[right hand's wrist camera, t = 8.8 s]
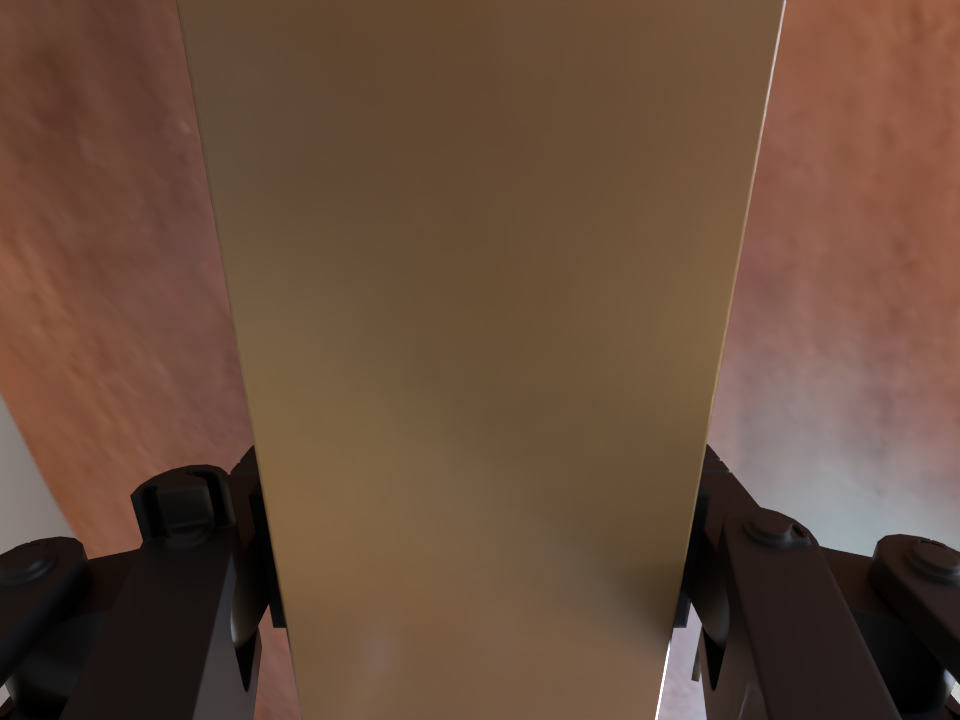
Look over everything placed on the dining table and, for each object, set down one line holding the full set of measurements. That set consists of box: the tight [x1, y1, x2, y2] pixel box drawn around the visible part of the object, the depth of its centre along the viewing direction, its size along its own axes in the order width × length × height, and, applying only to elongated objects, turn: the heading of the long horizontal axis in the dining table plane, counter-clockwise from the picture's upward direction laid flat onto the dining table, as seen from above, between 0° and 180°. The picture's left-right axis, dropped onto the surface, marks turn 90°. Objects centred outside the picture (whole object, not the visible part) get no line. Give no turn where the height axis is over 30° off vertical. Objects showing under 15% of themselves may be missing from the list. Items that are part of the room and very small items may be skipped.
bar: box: [176, 0, 787, 720], centre depth 9 cm, size 22×6×8 cm, turn 0°
